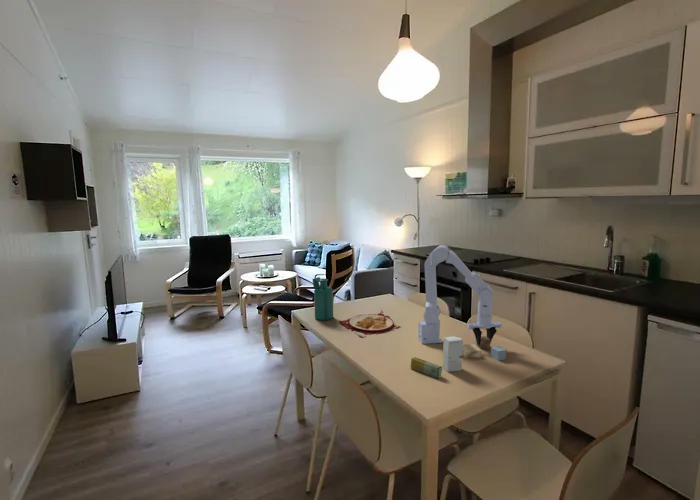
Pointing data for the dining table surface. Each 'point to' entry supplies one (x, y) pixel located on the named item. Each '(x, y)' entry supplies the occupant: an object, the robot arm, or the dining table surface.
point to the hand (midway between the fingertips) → (483, 343)
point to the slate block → (498, 353)
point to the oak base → (470, 351)
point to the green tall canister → (323, 299)
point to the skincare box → (452, 353)
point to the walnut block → (484, 343)
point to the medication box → (426, 367)
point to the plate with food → (370, 323)
